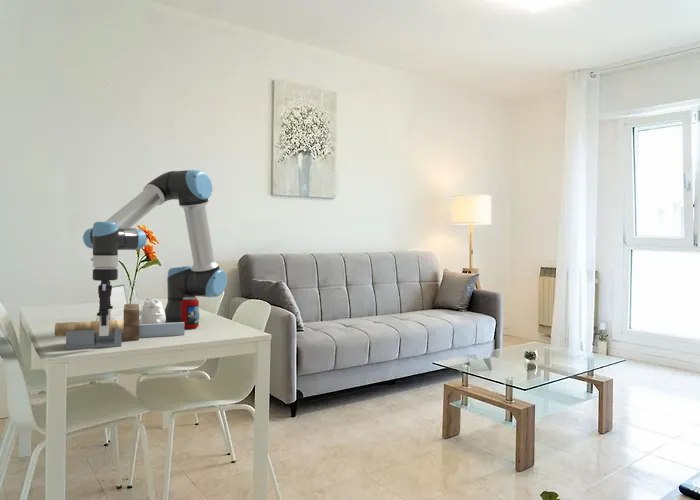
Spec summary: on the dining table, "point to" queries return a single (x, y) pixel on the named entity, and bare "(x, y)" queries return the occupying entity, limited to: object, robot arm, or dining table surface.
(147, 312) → the figurine
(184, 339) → the dining table surface
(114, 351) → the dining table surface
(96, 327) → the dowel
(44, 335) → the dining table surface
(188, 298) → the beverage can
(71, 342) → the cradle
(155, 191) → the robot arm
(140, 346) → the dining table surface
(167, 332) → the rail
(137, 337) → the brown wooden block
